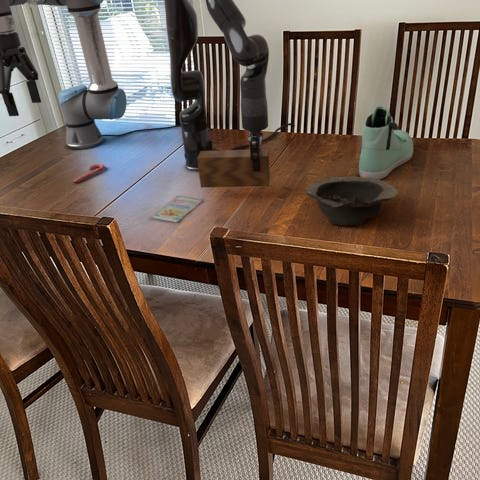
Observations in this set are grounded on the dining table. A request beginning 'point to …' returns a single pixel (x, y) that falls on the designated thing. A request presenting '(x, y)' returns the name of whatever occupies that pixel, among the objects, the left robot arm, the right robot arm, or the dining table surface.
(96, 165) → the candy cane
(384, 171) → the sneaker
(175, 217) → the baking ingredient package
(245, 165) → the box
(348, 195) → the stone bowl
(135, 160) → the dining table surface
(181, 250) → the dining table surface
